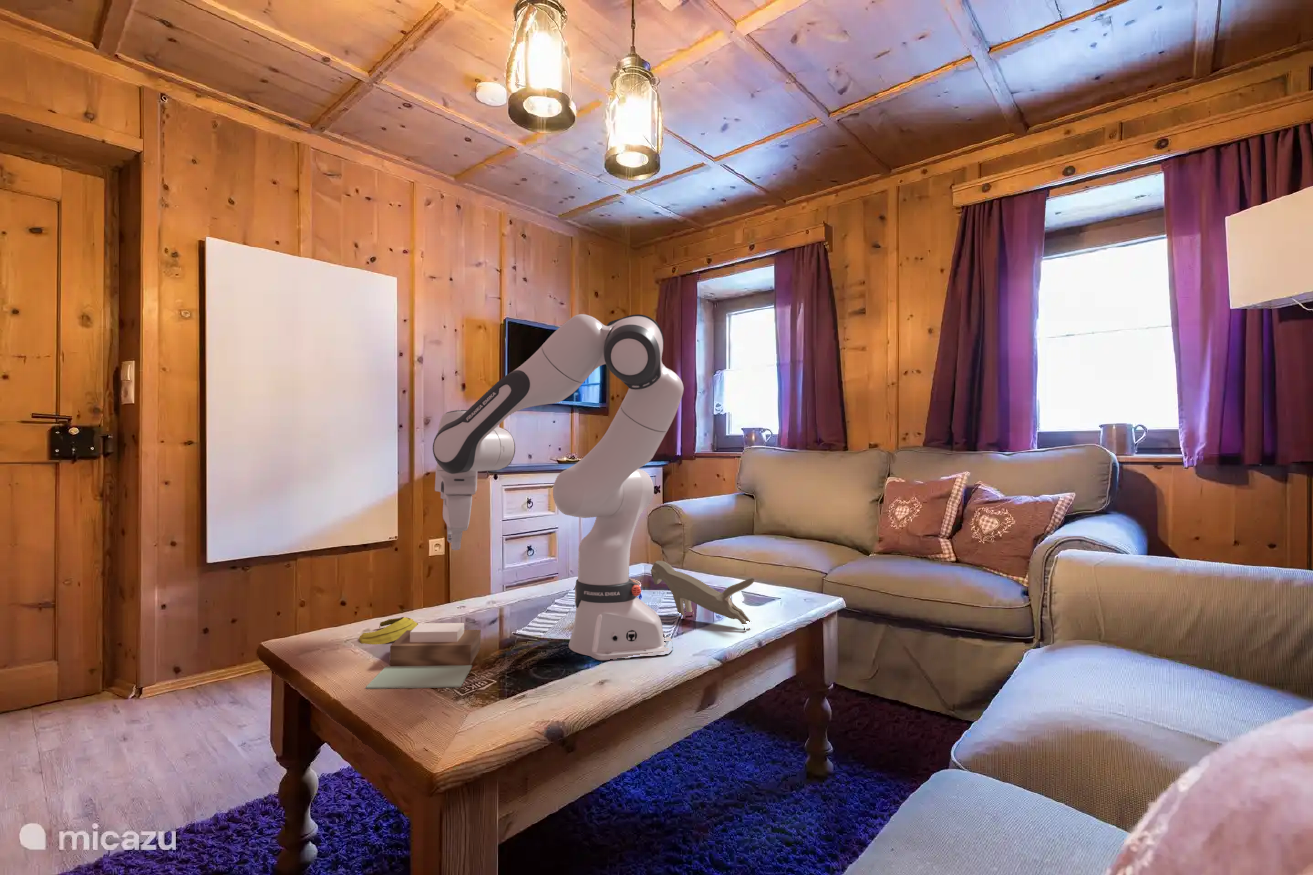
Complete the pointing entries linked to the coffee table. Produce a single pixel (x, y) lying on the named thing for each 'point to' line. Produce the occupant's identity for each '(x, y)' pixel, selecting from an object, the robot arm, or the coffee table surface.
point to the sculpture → (699, 592)
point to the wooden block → (435, 651)
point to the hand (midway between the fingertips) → (453, 545)
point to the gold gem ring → (388, 631)
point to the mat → (420, 677)
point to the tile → (437, 632)
